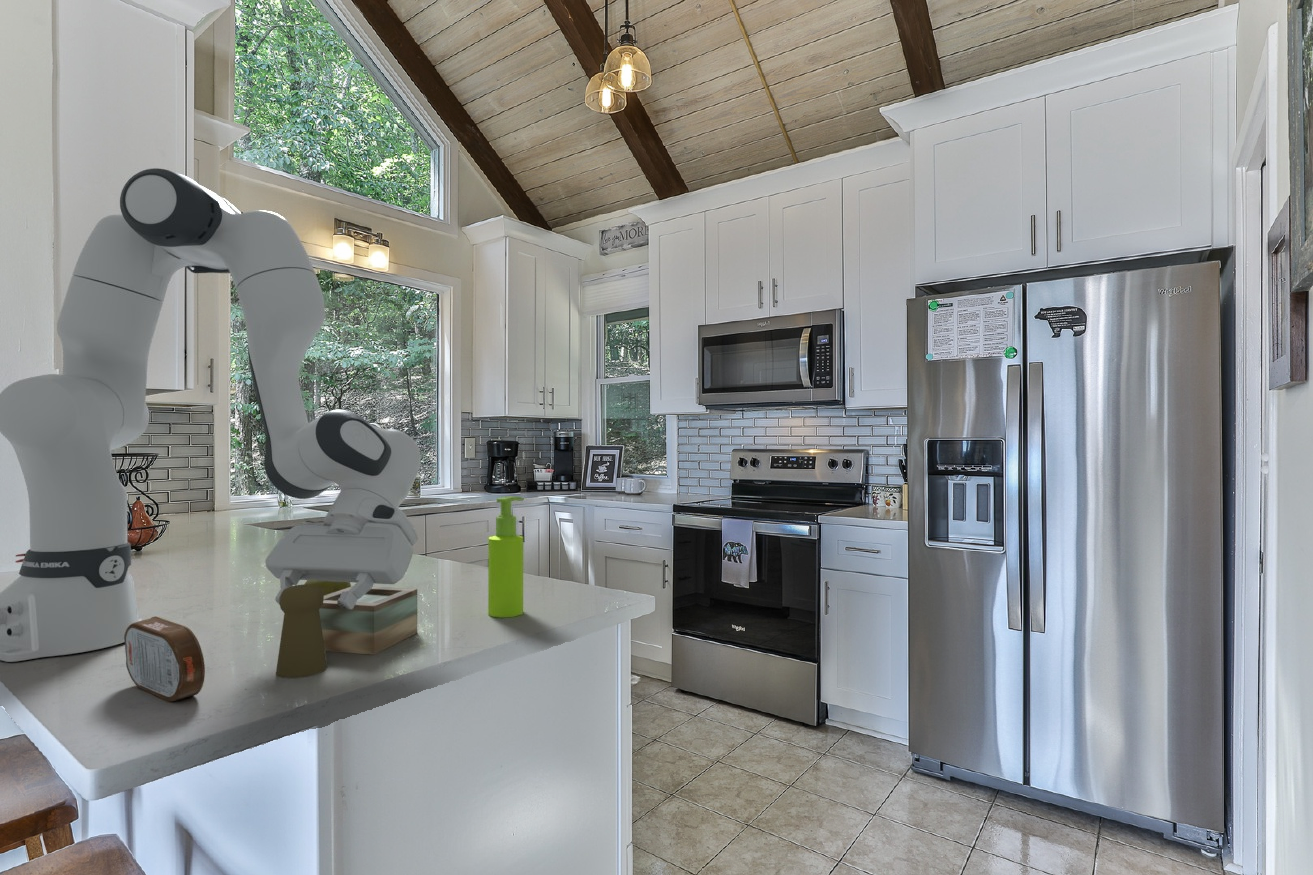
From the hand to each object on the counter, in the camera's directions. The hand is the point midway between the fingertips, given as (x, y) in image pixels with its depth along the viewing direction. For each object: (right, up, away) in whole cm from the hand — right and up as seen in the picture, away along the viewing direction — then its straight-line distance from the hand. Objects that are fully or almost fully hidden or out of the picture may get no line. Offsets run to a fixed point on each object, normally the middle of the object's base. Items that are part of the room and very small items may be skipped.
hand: (312, 605), depth 93 cm
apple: (-9, -8, +24) cm, 27 cm away
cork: (-1, -8, -2) cm, 8 cm away
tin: (-13, -8, -10) cm, 18 cm away
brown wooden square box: (+2, -8, +11) cm, 14 cm away
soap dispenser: (+20, -8, +27) cm, 35 cm away
